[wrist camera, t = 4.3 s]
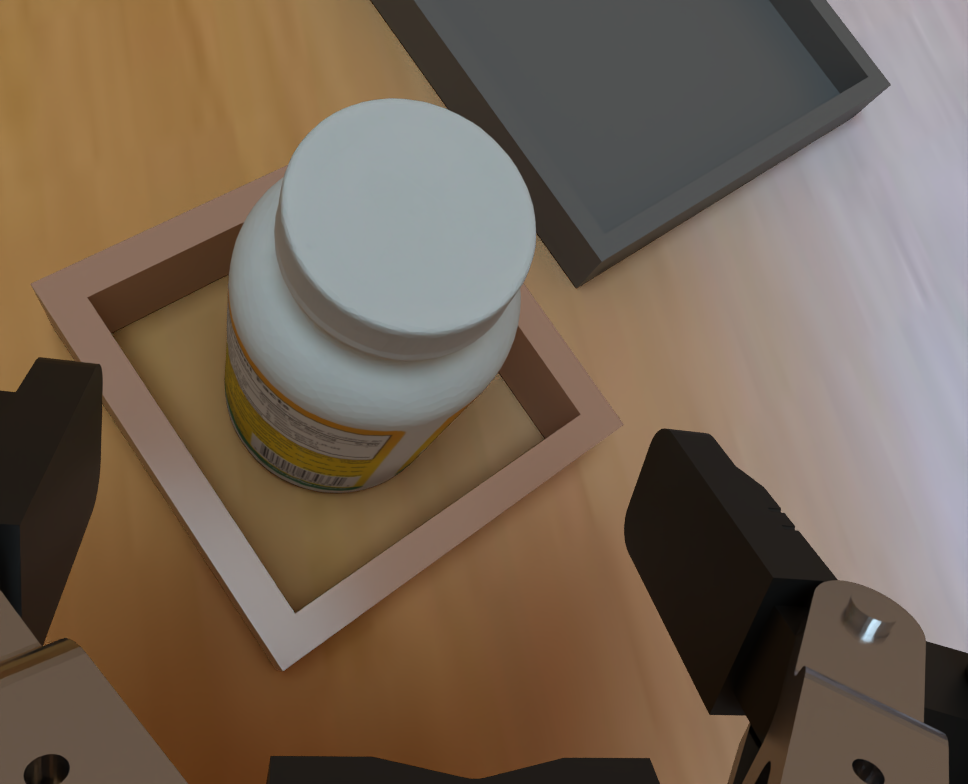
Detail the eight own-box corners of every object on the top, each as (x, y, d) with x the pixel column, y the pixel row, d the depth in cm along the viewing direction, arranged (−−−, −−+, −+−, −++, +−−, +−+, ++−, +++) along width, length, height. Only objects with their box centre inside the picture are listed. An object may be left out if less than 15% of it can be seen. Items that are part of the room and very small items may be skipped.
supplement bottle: (264, 526, 20) (294, 427, 12) (196, 322, 21) (177, 86, 13) (468, 457, 22) (628, 326, 14) (398, 271, 23) (504, 37, 15)
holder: (51, 326, 20) (30, 284, 18) (385, 163, 24) (402, 111, 22) (276, 669, 20) (282, 671, 17) (584, 447, 23) (623, 424, 21)
